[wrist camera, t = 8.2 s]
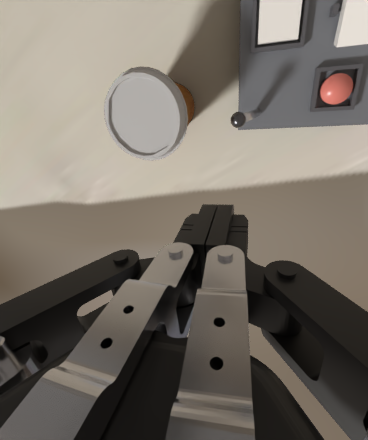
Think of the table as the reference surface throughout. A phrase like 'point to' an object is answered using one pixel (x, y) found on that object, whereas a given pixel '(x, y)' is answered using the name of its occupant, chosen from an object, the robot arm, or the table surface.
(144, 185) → the table surface
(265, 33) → the paddle
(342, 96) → the button
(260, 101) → the panel
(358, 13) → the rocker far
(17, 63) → the table surface
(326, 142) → the table surface
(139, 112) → the disposable coffee cup
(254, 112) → the toggle
